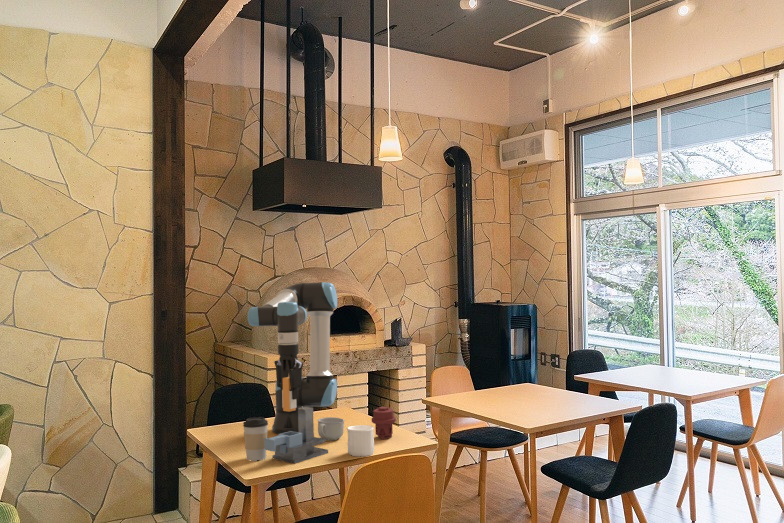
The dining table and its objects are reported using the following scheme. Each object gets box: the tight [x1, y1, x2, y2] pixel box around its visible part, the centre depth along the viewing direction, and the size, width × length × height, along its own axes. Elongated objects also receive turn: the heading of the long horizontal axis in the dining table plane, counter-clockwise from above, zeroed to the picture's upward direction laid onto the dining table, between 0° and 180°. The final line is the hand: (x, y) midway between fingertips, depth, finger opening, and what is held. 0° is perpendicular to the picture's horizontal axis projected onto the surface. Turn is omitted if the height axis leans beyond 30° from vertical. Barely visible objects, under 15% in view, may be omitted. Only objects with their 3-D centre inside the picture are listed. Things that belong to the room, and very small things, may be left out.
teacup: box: [317, 416, 345, 442], centre depth 262 cm, size 14×11×8 cm
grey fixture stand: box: [272, 406, 329, 465], centre depth 239 cm, size 12×17×17 cm
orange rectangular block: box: [283, 376, 296, 412], centre depth 235 cm, size 3×3×12 cm
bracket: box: [265, 431, 302, 454], centre depth 232 cm, size 6×13×6 cm, turn 141°
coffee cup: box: [242, 416, 269, 462], centre depth 237 cm, size 9×9×15 cm
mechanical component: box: [371, 406, 397, 440], centre depth 263 cm, size 12×10×10 cm
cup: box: [346, 424, 375, 457], centre depth 240 cm, size 10×10×10 cm
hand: (289, 407), depth 235 cm, fingers closed on orange rectangular block, 3 cm apart
